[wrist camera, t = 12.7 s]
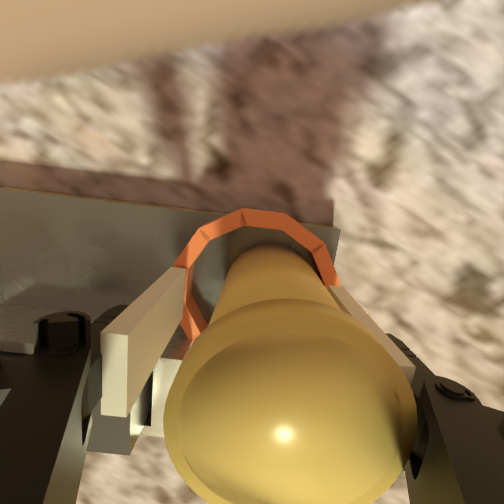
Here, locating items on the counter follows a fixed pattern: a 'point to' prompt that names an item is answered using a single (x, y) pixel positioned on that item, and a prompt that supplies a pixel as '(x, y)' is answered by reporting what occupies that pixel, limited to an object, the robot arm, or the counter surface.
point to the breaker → (120, 425)
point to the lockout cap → (287, 395)
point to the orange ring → (242, 217)
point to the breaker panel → (113, 264)
